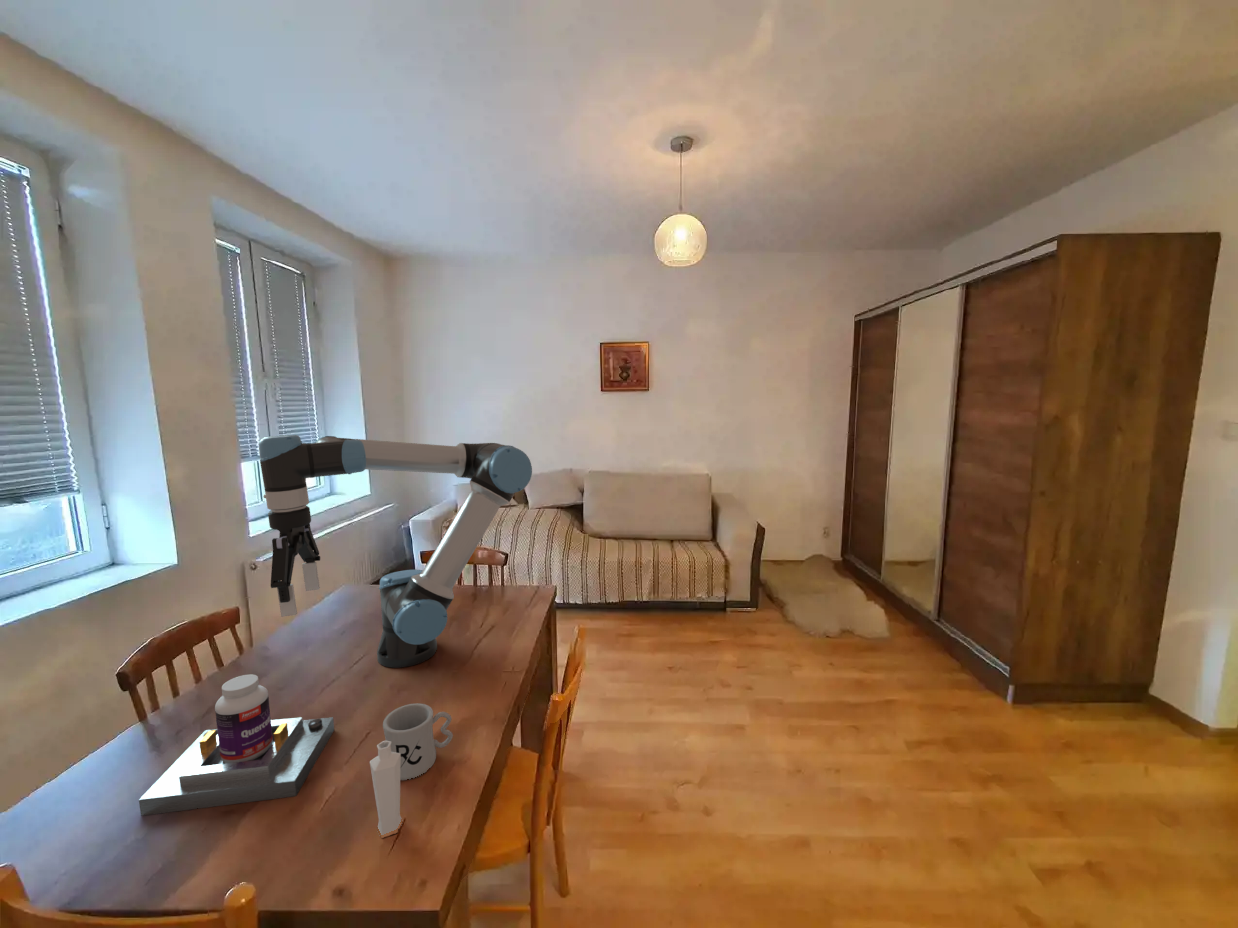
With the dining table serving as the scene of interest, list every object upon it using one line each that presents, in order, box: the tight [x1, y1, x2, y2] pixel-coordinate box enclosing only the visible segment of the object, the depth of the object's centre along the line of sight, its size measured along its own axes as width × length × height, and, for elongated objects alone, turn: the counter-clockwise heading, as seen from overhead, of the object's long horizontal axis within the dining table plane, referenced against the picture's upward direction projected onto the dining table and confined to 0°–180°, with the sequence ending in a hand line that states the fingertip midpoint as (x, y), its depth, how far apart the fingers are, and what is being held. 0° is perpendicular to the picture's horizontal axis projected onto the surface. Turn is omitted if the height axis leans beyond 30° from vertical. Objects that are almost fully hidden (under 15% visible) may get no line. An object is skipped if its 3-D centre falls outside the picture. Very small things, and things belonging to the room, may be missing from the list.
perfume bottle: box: [369, 739, 403, 835], centre depth 82 cm, size 5×4×15 cm
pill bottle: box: [214, 673, 273, 764], centre depth 95 cm, size 8×8×14 cm
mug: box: [382, 703, 454, 781], centre depth 97 cm, size 12×9×10 cm
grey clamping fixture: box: [138, 716, 335, 816], centre depth 96 cm, size 24×18×8 cm
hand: (301, 601), depth 111 cm, fingers open, 13 cm apart
